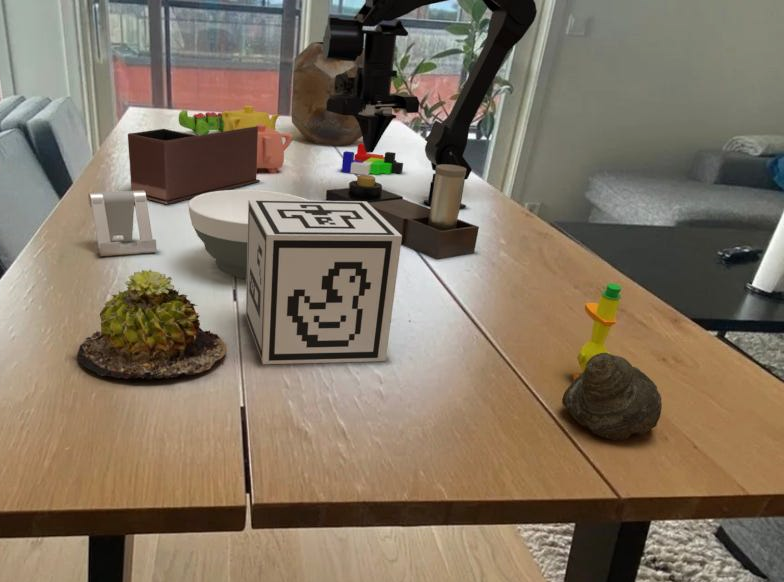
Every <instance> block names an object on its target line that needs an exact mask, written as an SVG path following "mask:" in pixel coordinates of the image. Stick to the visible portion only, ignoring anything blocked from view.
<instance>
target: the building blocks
mask: <svg viewBox="0 0 784 582" xmlns="http://www.w3.org/2000/svg"><path fill="white" fill-rule="evenodd" d="M396 153H397V152H392V151H386V152H384V154H379V153H378V154H377V153H371V152H370V153H367V152H366V151H365V147H364V143H362V142H359V143H357V149H356V154H355V151H348V150H345V151H343V153H342V161H341V162H342V163H341V172H342V173H349V174H355V175H369V176H370V174H372V175H380V174H386V175H390V174H391V173H393V174H402V173H403V171H404V162H399V161H397V160H396Z"/></svg>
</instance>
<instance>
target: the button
mask: <svg viewBox="0 0 784 582" xmlns="http://www.w3.org/2000/svg"><path fill="white" fill-rule="evenodd" d="M356 181H357V185H359V186H366V187H372V186H375V182H376V177H375V176H373V175H370V174H369V175H361V174H358V175H357V177H356Z"/></svg>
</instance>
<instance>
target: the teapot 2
mask: <svg viewBox="0 0 784 582" xmlns="http://www.w3.org/2000/svg"><path fill="white" fill-rule="evenodd" d="M256 126H258V139H257V169H267V172H268V173H271V174H276V173H277V170H276V169H280V168H283V165H284V163H285V151H286V150H287V148H288V147H289V146H290V145H291V143H292V141H293V135H292V134H290V133H286V132H283V133H282V132H281V133H280V132H279V131H278V130H276V129H275V130H274V129H265V128H266V125H264V124H257V125H256ZM283 138H285V141H284V142H283ZM256 173H258V171H257V172H256Z"/></svg>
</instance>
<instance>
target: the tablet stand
mask: <svg viewBox="0 0 784 582" xmlns="http://www.w3.org/2000/svg"><path fill="white" fill-rule="evenodd" d="M87 198H88V199H87V200H88V205H89V207H90V208H91V209H92V216H93V223H94V226H95V227H94V228H95V234H96V240H97V246H98V253H99V256H100V257H111V256H123V255H124V256H125V255H138V254H151V253H156V252H157V240H156V239H153V231H152V227H151V220H150V212H149V207H148V199H147V198H146V193H145V191H144V190H142V191H131V190H122V191H121V190H119V191H99V192H98V191H96V192H95V191H92V192H88V194H87ZM134 213H136V221H137V227H138V233H139V240H136V241H135V245H125V246H124V245H123V246H122V244H121V241H113V238H114V237H117V236H118V237H119V236H122V237H123V238H122V239H123V242H131V241H132V240H133V233H134V231H133V230H134V216H135V215H134Z"/></svg>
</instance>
